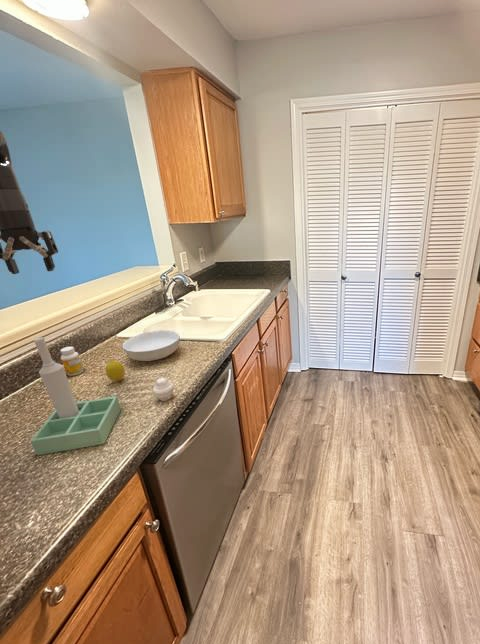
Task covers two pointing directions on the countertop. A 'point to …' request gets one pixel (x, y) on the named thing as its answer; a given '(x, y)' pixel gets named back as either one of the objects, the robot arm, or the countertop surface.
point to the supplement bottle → (71, 361)
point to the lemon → (115, 370)
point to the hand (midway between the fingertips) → (33, 272)
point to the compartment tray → (78, 427)
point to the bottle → (56, 383)
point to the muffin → (163, 389)
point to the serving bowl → (152, 345)
